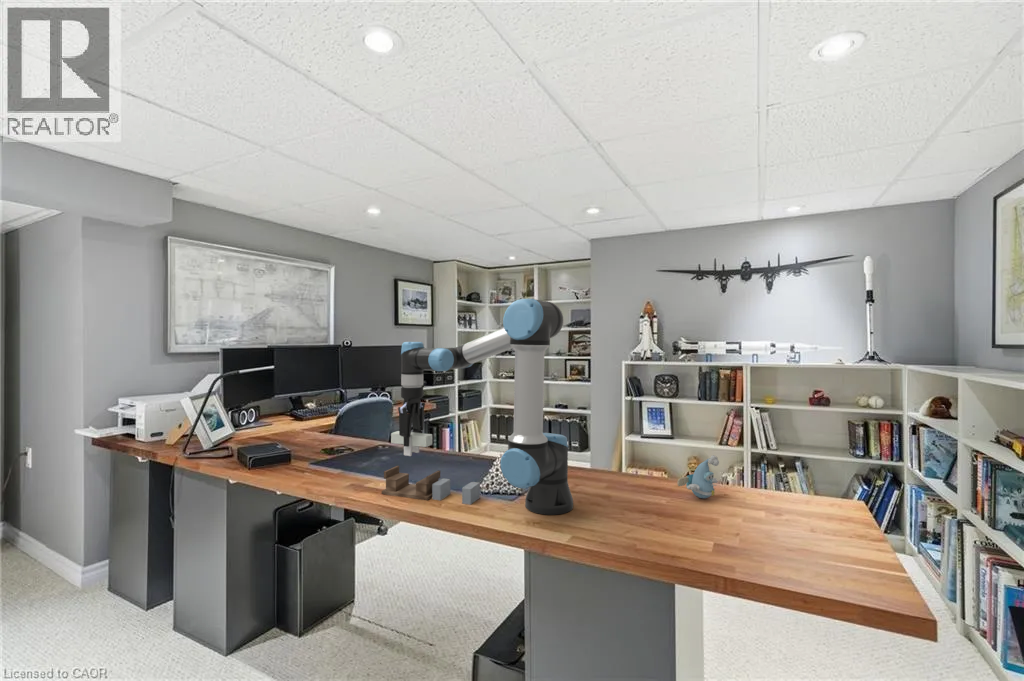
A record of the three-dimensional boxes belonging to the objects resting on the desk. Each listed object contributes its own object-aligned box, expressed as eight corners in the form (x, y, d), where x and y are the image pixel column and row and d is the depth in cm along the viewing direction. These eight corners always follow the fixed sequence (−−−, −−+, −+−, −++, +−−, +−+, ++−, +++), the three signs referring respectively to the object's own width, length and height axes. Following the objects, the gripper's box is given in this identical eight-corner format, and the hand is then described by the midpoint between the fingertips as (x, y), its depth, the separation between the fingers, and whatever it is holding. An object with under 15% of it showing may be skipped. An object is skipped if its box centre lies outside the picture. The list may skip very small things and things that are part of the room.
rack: (442, 491, 163) (442, 469, 163) (427, 500, 154) (427, 477, 154) (398, 485, 169) (398, 464, 169) (381, 493, 160) (381, 472, 160)
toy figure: (705, 508, 147) (705, 460, 147) (675, 499, 155) (675, 454, 155) (730, 496, 158) (730, 452, 158) (701, 488, 166) (701, 446, 166)
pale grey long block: (432, 444, 161) (432, 434, 161) (426, 446, 157) (426, 436, 157) (397, 440, 166) (397, 430, 166) (391, 443, 162) (391, 433, 162)
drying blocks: (479, 497, 156) (479, 482, 156) (470, 504, 150) (470, 489, 150) (442, 492, 161) (442, 478, 161) (432, 499, 155) (432, 484, 155)
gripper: (416, 383, 171) (415, 447, 171) (388, 388, 155) (387, 458, 155) (434, 384, 168) (433, 449, 168) (407, 389, 152) (406, 461, 152)
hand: (411, 453), depth 162 cm, fingers closed on pale grey long block, 4 cm apart
